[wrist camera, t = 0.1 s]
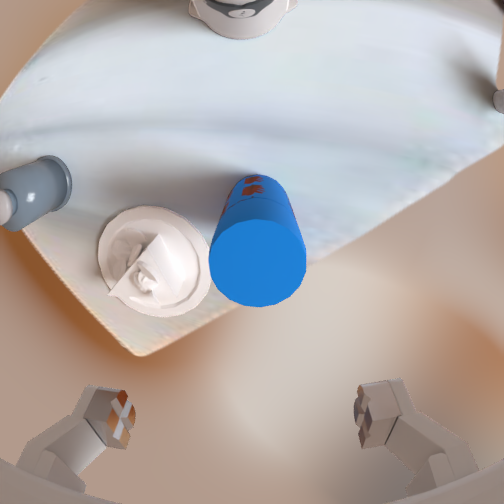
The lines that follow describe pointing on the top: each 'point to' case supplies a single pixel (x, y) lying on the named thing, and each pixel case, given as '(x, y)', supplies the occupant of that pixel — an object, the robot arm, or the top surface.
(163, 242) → the dish
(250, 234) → the thermos
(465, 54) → the top surface
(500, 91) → the house plant
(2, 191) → the dispenser
